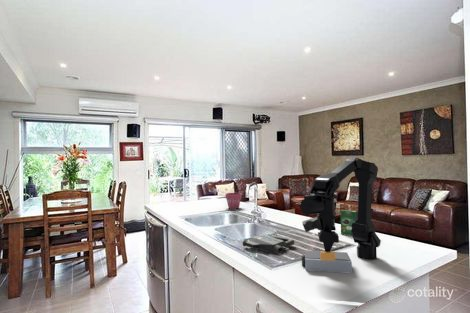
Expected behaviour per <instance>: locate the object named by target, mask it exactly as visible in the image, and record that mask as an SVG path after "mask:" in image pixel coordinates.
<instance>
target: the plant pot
mask: <svg viewBox="0 0 470 313" xmlns="http://www.w3.org/2000/svg"><path fill="white" fill-rule="evenodd" d="M242 197H243V196H242V193H241V192H229V193H225V199H226V202H227V206H228V209H229V208H230V209H229V210H237V209H236V208H239V209H240V205H241V199H242Z"/></svg>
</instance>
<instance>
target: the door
mask: <svg viewBox="0 0 470 313" xmlns="http://www.w3.org/2000/svg"><path fill="white" fill-rule="evenodd" d="M319 251H320V258H321V259H309V258H305V271H310V272H311V271H312V272H327V273H328V272H329V273H341V274H353V266H352V265H353V264H352V260H351V261H343V260H335V252H336V251H330V252H324V251H325V250H324V251H323V250H319Z"/></svg>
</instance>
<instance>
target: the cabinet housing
mask: <svg viewBox="0 0 470 313" xmlns="http://www.w3.org/2000/svg"><path fill="white" fill-rule="evenodd" d="M320 251H321V250H304V254H301V266H302V267H303V266H305V258H309V259H321V258H320ZM324 252H325V250H324ZM334 252H335V260H343V261H351V262H352V259H351V258H350V256H349V254H348V252H346V251H345V252H344V251H343V252H342V251H334Z"/></svg>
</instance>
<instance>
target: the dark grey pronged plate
mask: <svg viewBox="0 0 470 313" xmlns="http://www.w3.org/2000/svg"><path fill="white" fill-rule="evenodd" d="M294 244H295V240H294V239H292V238H289V237H288V238H287V237H284V236H279V235H277V236H276V235H274V236H269V235H266V234H261V235H254V236H251V238H250V239H249V240H248V239H246V238H245V239H243V241H242V246H243V247H248V248H251V249H257V250H260V251H263V252H266V253H269V254H270V253H271V254H282V253H283V251H285V250H287V248H288V247H291V246H293V245H294Z"/></svg>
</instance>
